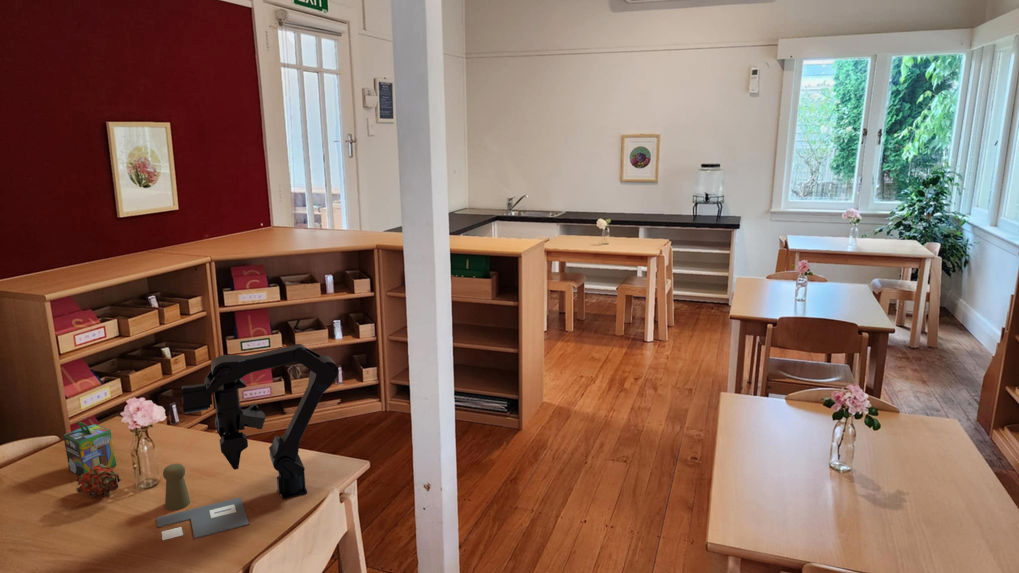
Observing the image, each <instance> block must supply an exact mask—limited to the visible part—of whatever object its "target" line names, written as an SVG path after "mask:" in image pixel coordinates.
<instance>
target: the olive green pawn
mask: <svg viewBox="0 0 1019 573" xmlns="http://www.w3.org/2000/svg"><path fill="white" fill-rule="evenodd" d="M185 475H186V467H185V466H184V465H183V464H181V463H172V464H169V465H167V466H166V467H165V468H164V469H163V470H162V477H163V479H164V480H165V498H164V499H165V502H164V505H165V506H164V507H165V510H167V511H180V510H182V509H185V508H187V507H188V506H189V505H190V504H191V499H190V495H189V491H188V487H187V483H186V479H185Z"/></svg>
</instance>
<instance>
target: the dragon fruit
mask: <svg viewBox="0 0 1019 573" xmlns="http://www.w3.org/2000/svg"><path fill="white" fill-rule="evenodd" d="M76 481H77V486H79V487H76V488H75V490H76V492H77V493H78V494H80V493H87V492H88V496H89V497H90V498H95V497H96V496H98V495H99V496H101V497H102V496H107V495H110V492H115V491H116V490H118V489H119V483H120V481H122V479H121V478H120V475H119V473H118V472H116V471H115V470H114V468H113V467H111V468H110V467H109V466H100V465H97V466H93V467H92V468H91V469H90V471H89V472H87V473H84V474H83V475H81V476H79V475H78V477H77V479H76Z"/></svg>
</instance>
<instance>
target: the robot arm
mask: <svg viewBox="0 0 1019 573" xmlns="http://www.w3.org/2000/svg"><path fill="white" fill-rule="evenodd" d="M294 363H299V364H300V365H302V366H304V367H305V368H307V369H308V370H310V371H309V376H308V382H307V386H306V389H305V391H304V393H303V395H302V397H301V399H300V401H299V403H298V405H297V407H296V409H295V412H294V413H293V415H292V418H291V419H290V422H289V424H288V426H287V428H286V431H285V432H284V433H283V434H282V435H281V436H278V435H275V436H274V438H273V440H272V443H271V445H270V446H269V447H268V450H269V457H270V460H271V463H272V466H273V468H274V470H275V471H277V472H278V476H276V486H277V492H278V494H279V495H280V496H281V498H282V499H283V500H286V499H290V498H293V497H297V496H302V495H306V494H307V493H308V489H307V488H306V478H305V477H306V476H305V466H304V463H303V462H302V459H301V457H300V455H299V449H300V444H301V439H302V437H303V436H304V434H305V431H306V430H307V427H308V424H310V421H311V419H312V417H313V414H314V412H315V410H316V408H317V406H318V404H319V402H320V400H321V398H322V396H323V394H324V393H325V392H326V391H328V389H330V388H331V387H332V385H333V384H334V382H335V380H336V379H337V378H338V376H339V373H340V371H339V367H338V365H337V364H336V362H335V361H334V360H333V359H332V358H331V357H330V356H329V355H321V354H319V353H318V352H315V351H314V350H312V349H310V348H307V347H306V346H305V345H303V343H295V344H293V345H290V346H285V347H280V348H276V349H271V350H267V351H262V352H257V353H253V354H252V353H251V354H248V355H242V354H224V355H223V354H222V355H219V356H216V358H214V359H213V360H212V362H211V365H210V371H209V372H208V374H207V375H206V377H205V379H204V383H197V384H192V385H191V384H190V385H188V384H187V385H186V384H185V385H182V386H181V394H182V396H181V402H182V409H183V415H185V414H191V413H196V412H201V411H202V412H203V411H208V410H209V409H211V406H213V397H212V396H213V395H212V394H214V402H215V403H214V404H215V413H216V417H215V418H214V422H215V428H216V431H217V434H218V436H219V437H220V438H219V448H220V452H221V453H222V454H223V456H224V457H225V459H226V461H228V463H229V464H230V466H231V468H232V469H233V470H234V471H235V470H238V469H239V466H240V461H241V454H242V452H243V451H244V450H246V449H247V448H248V447H249V443H248V437H247V434H246V433H244V432H242V431H243V430H245V427H247V428H251V429H253V428H254V429H257V430H263V428H264V424H265V420H266V414H265V413H264V412H263V410H259V406H258V404H250V406H249V407H248V408H245V409H242V405H241V403H240V402H241V401H240V399H241V398H240V392H239V391H240V390H239V389H244V388H245V389H246V388H247V384H246V381H245V380H243V378H244V377H246V376H247V375H249V374H252V373H255V372H260V371H263V370H268V369H269V370H270V369H272V368H276V367H282V366H286V365H289V364H294Z"/></svg>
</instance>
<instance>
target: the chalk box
mask: <svg viewBox="0 0 1019 573" xmlns="http://www.w3.org/2000/svg"><path fill="white" fill-rule="evenodd" d="M77 424H78V426H79V428H77V429H75V430H73V431H70V432H67V433H65V434H63V435H62V436H63V441H64V447H65V453H66V459H67V465H68V471H70V472H72V473H73V474H75V475H77V476H78V477H79V476H81V475H83V474H84V473H87V472H89V471H90V469H91V468H92V467H93V466H97V465H100V466H109V467H110V468H113V467H116V466H117V460H116V455H115V450H114V449H115V448H114V443H113V436H112V430H111V429H109V428H107V427H104V426H101V425H99V424H96V423H94V424H91V425H87V424H86V423H84V422H81V421H79V420H77Z"/></svg>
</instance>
